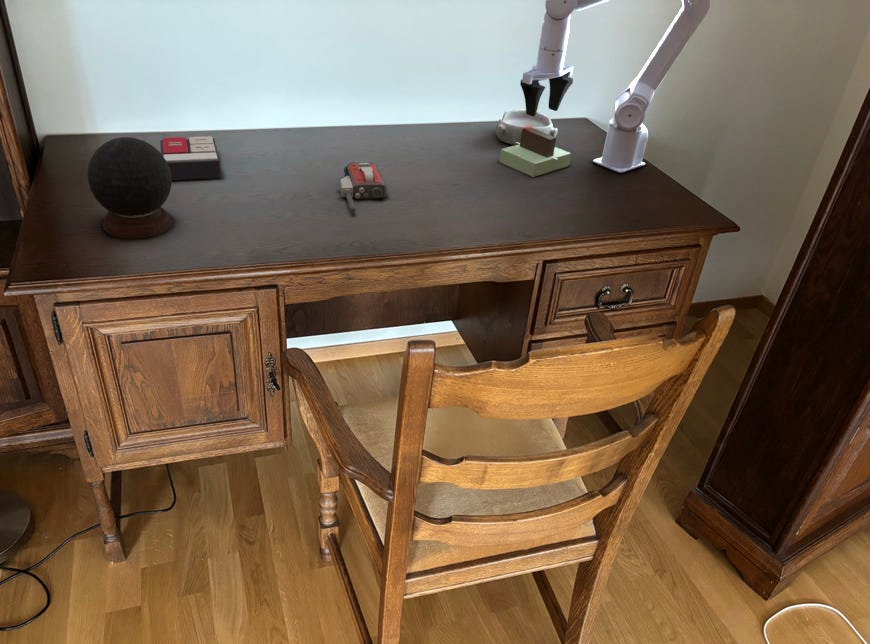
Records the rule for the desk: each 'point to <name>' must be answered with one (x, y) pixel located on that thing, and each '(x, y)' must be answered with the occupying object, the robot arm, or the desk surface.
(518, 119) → the dish
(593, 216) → the desk surface
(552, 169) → the stand
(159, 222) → the ball on wooden base
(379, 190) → the walkie-talkie
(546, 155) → the brown block
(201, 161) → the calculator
